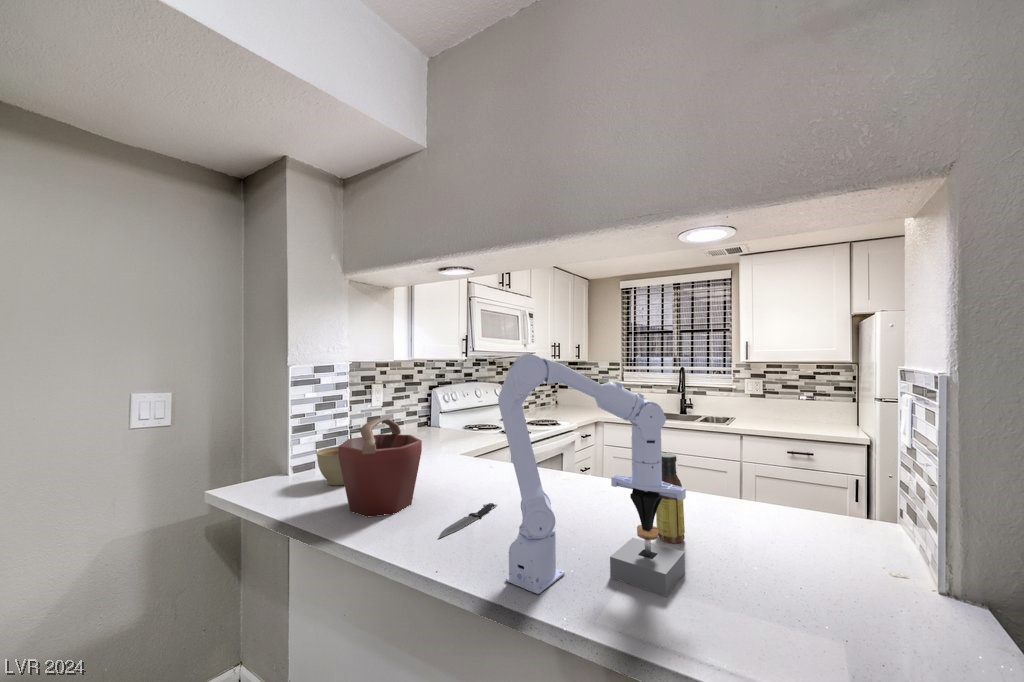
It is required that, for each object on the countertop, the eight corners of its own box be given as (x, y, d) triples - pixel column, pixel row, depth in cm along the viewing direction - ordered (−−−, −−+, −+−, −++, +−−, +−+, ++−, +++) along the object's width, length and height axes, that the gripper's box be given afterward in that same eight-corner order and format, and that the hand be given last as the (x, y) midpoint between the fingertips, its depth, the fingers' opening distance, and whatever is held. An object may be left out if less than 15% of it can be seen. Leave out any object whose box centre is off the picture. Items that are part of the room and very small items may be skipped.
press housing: (666, 596, 79) (665, 574, 79) (610, 577, 86) (610, 556, 86) (685, 571, 88) (684, 551, 88) (632, 556, 95) (632, 537, 95)
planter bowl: (375, 481, 150) (375, 449, 150) (329, 492, 138) (329, 458, 139) (353, 472, 161) (353, 442, 161) (308, 482, 149) (308, 450, 150)
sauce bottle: (675, 532, 107) (674, 450, 107) (690, 543, 101) (689, 457, 101) (650, 534, 106) (649, 452, 106) (664, 546, 99) (662, 458, 100)
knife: (427, 537, 105) (443, 542, 103) (427, 533, 105) (443, 538, 103) (487, 504, 128) (501, 507, 125) (487, 501, 128) (501, 504, 125)
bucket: (384, 527, 111) (384, 428, 112) (316, 516, 119) (316, 424, 119) (434, 496, 134) (433, 415, 135) (374, 489, 142) (374, 411, 142)
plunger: (653, 563, 84) (653, 534, 84) (634, 557, 87) (633, 529, 87) (661, 555, 87) (660, 527, 87) (641, 549, 90) (641, 522, 90)
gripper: (690, 461, 86) (691, 531, 86) (621, 451, 95) (621, 514, 95) (678, 469, 80) (679, 543, 80) (606, 457, 89) (607, 524, 89)
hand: (647, 528), depth 87 cm, fingers closed, pressing on plunger
